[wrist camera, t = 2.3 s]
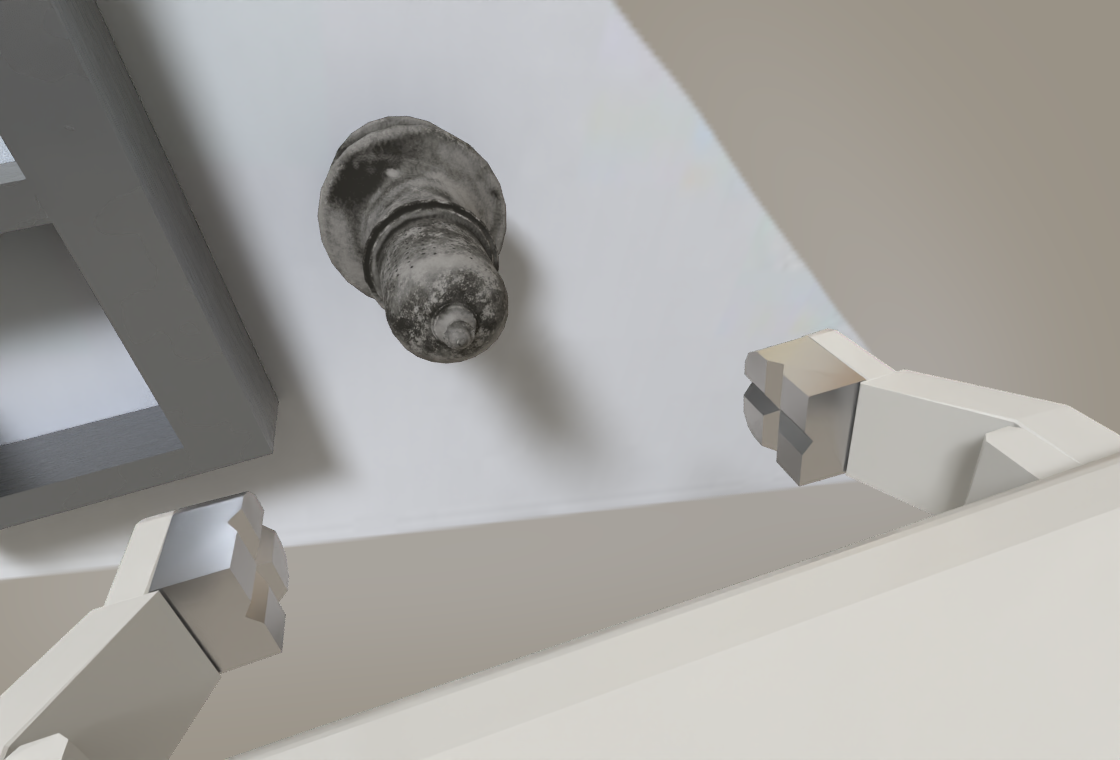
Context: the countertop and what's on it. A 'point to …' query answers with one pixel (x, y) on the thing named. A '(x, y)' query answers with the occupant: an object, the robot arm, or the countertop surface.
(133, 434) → the grey rectangular frame piece
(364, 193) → the grey stone finial
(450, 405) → the countertop surface
